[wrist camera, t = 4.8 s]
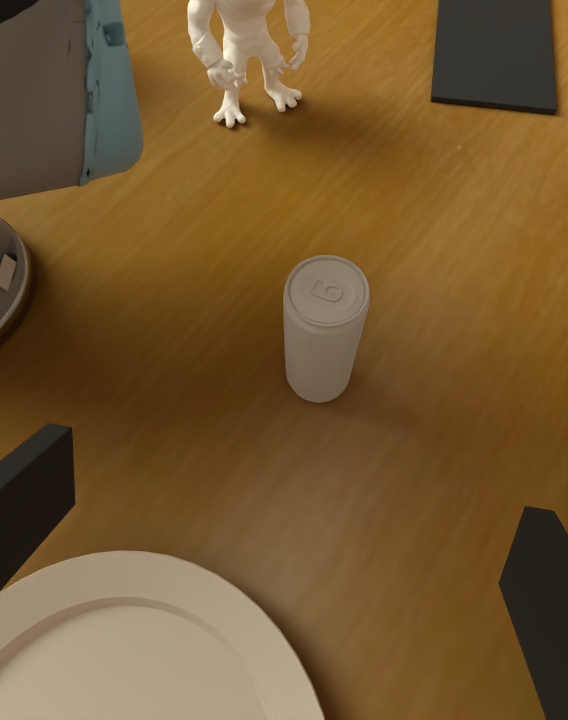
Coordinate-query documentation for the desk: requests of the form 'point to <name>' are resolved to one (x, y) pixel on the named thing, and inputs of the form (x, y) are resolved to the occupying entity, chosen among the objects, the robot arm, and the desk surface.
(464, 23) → the mat
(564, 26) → the desk surface
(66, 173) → the robot arm
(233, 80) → the figurine
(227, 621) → the plate
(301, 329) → the beverage can
